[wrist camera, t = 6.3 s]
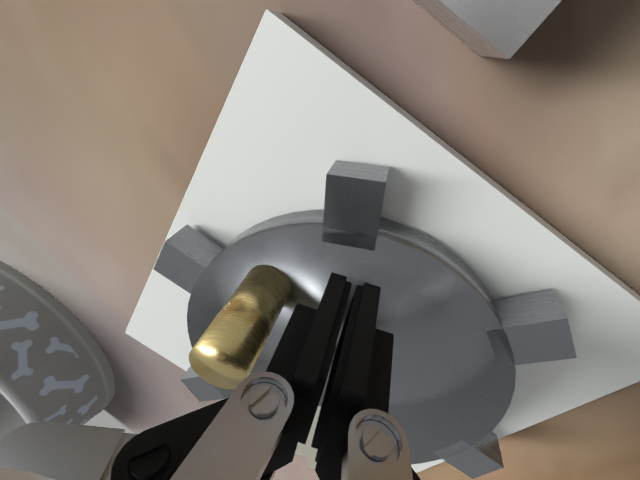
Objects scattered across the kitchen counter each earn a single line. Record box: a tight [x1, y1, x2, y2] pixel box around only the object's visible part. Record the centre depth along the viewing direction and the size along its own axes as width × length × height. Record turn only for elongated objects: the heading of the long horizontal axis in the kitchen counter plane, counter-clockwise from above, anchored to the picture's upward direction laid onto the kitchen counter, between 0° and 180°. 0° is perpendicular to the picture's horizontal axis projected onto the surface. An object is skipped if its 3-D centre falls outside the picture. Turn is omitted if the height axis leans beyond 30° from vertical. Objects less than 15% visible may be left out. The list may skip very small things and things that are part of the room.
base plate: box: [125, 9, 640, 473], centre depth 16 cm, size 19×19×1 cm
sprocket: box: [153, 160, 577, 479], centre depth 13 cm, size 18×17×6 cm
